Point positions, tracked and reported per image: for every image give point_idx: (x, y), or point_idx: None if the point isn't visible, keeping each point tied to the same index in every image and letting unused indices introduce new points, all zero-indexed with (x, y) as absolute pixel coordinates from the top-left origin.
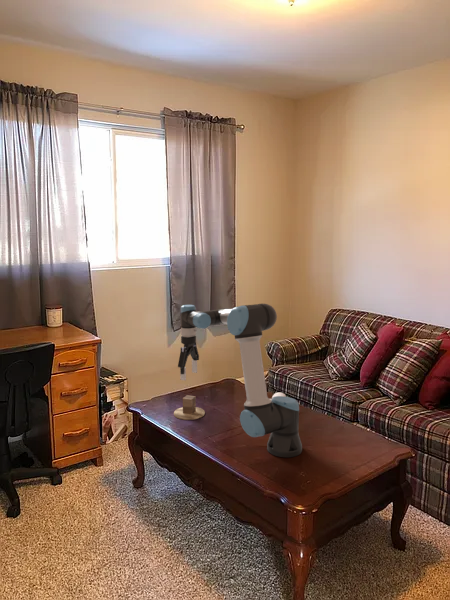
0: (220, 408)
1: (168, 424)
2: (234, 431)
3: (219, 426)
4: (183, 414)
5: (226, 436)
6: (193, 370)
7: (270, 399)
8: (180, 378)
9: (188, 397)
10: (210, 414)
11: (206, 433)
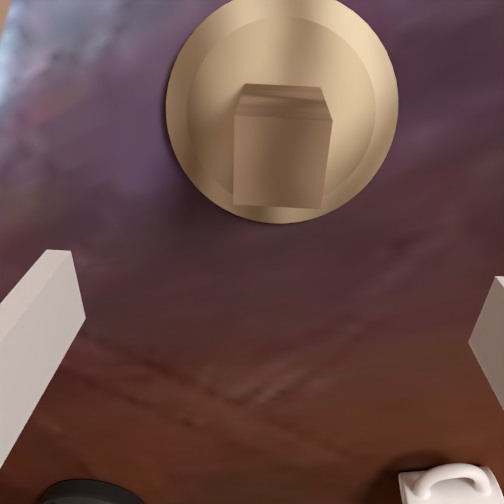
0: (419, 270)
1: (47, 50)
2: (149, 384)
3: (170, 325)
4: (223, 98)
5: (87, 370)
6: (501, 323)
7: (479, 488)
8: (35, 263)
9: (274, 160)
10: (309, 246)
11: None
